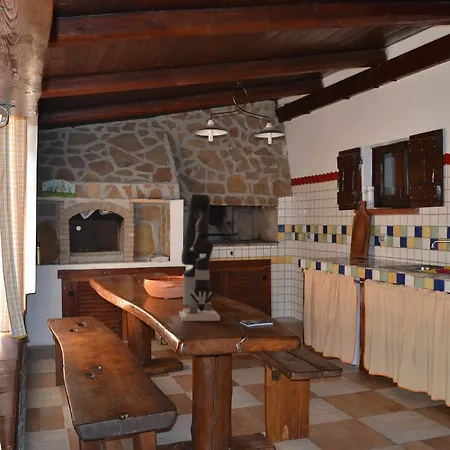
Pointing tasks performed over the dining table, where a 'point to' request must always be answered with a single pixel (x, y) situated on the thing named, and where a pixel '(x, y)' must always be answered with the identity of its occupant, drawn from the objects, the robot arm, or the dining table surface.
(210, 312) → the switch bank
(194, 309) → the tab
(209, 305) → the tab
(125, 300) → the dining table surface
